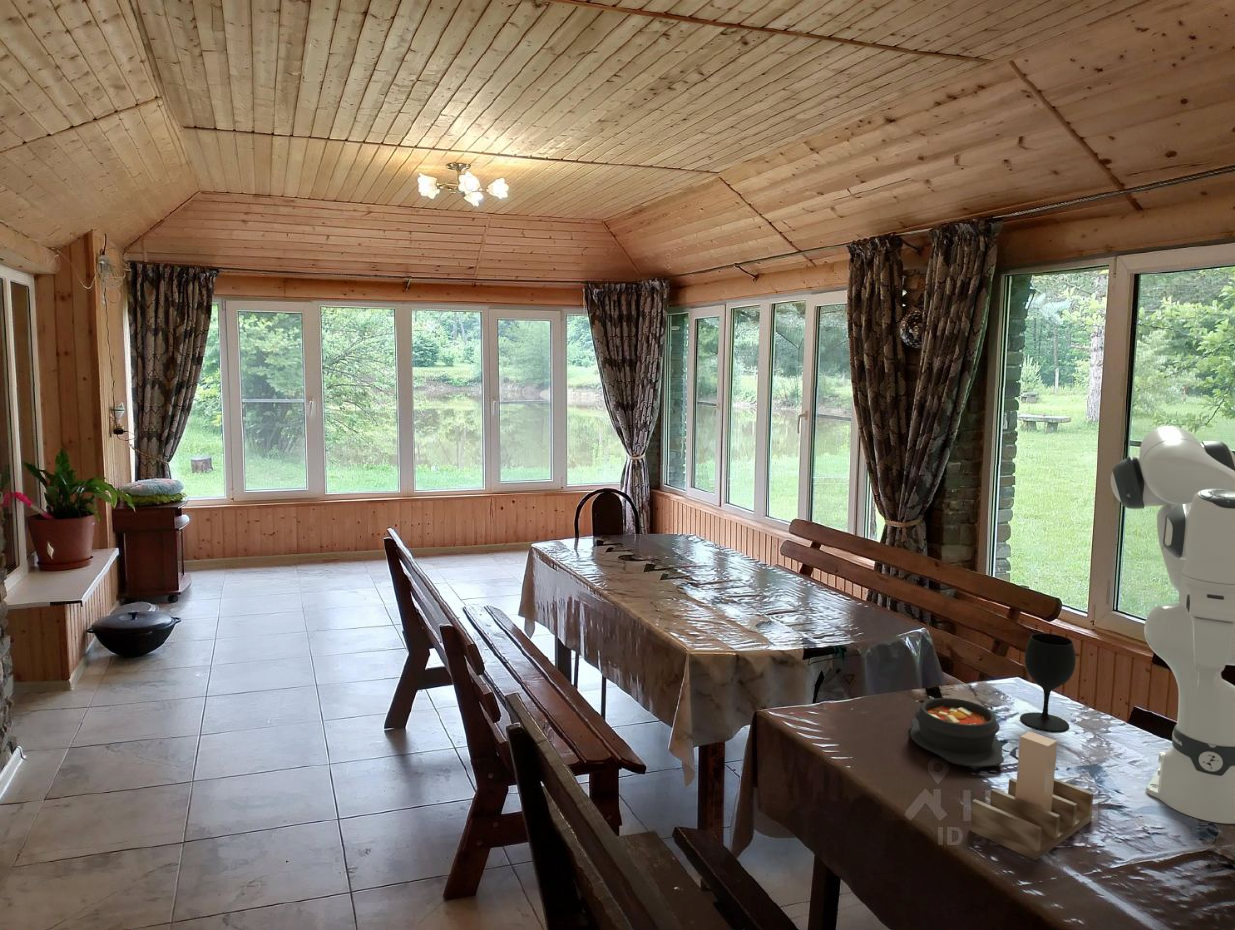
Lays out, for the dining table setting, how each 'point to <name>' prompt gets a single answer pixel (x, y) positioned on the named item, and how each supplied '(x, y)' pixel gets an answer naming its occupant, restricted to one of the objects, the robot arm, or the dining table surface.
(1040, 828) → the drying rack
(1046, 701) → the wine glass
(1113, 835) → the dining table surface
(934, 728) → the casserole
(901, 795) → the dining table surface
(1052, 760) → the beige rectangular block
